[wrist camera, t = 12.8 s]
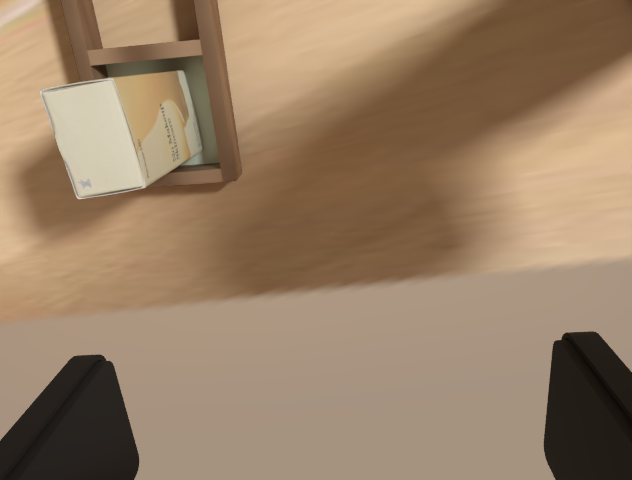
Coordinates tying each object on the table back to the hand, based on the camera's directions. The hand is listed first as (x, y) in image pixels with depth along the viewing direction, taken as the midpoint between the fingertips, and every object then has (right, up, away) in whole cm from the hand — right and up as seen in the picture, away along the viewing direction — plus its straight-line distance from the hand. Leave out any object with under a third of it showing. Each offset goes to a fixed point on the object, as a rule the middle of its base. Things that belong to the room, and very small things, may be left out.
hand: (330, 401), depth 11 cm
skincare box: (-12, +13, +28) cm, 33 cm away
